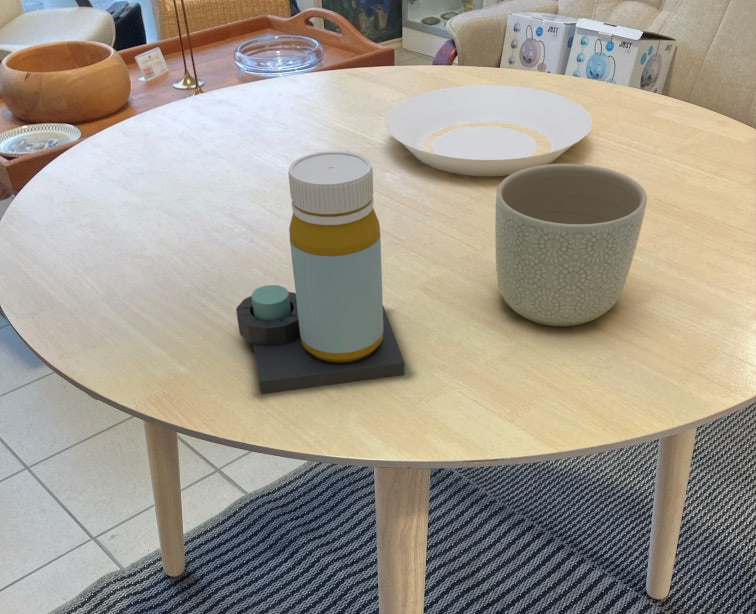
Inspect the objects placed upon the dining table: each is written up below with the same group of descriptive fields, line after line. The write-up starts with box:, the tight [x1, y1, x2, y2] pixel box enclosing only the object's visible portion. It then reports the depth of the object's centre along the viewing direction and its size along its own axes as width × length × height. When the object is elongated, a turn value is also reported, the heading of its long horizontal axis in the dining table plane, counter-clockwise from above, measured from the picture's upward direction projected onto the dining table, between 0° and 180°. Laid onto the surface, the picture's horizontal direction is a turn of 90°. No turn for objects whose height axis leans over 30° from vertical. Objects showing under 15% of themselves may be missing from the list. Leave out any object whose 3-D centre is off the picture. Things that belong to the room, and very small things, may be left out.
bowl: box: [384, 84, 593, 177], centre depth 105 cm, size 25×25×4 cm
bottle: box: [287, 150, 384, 363], centre depth 68 cm, size 7×7×15 cm
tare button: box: [250, 284, 291, 320], centre depth 73 cm, size 3×3×2 cm
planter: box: [494, 163, 648, 328], centre depth 75 cm, size 12×12×11 cm
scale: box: [235, 291, 405, 395], centre depth 74 cm, size 13×11×4 cm
